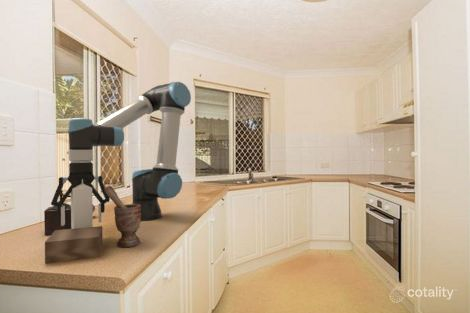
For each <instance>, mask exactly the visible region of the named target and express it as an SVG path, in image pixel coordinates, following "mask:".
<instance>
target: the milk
mask: <svg viewBox="0 0 470 313" xmlns="http://www.w3.org/2000/svg"><path fill="white" fill-rule="evenodd" d="M70 195H71V197H70V205H71V229H76V228H87V227H94V224H93V222H94V221H93V215H94V212H93V208H92V204H93V193H92V188H91V187H89V186H87V185H85V184H83V179H82V184H80V185H78V186H76V187H74V188H73V189H72V192H71V193H70Z"/></svg>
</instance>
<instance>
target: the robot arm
mask: <svg viewBox="0 0 470 313" xmlns="http://www.w3.org/2000/svg"><path fill="white" fill-rule="evenodd" d="M191 96H192V95H191V91H190V90H189V88H188V86H187V85H186V84H185V83H183V82H181V81H172V82H169V83H166V84H160V85H156V86H154V87H152V88H151V89H149V90H147V91H146V92H144V93H142V94H141V95H139V96H137V99H136V100H134V101H132V102H131V103H130V104H127V105H126V106H124V107H122V108H121V109H119V110H117V111H115V112H113V113H112V114H110V115H108V116H106V117H105V118H102V119H100V120H99V121H97V122H95V123H93V120H92V119H91V118H85V117H84V118H83V117H73V118H71V119H69V121H68V161H69V163H68V176H66V177H64V176H61V177H58V185H57V188H56V190H55V193H54V195H53V198H52V200H51V203H50V205H51V206H57V215H58V216H61V226H64V225H65V206H62V204H63V203H66V202H65V201H67V199H68V198H69V197H68V196H69V195H71V192H72V189H73V188H74V187H76V186H78V185H80V184H82V179H83V184H85V185H87V186H89V187H91V188H92V195H94V197H95V198H96V200H98V202H99V203H98V204H97V205H98V206H97V207H98V223H102V214H104V213H105V211H106V210H105V209H106V208H105V206H106V205H105V204H106V203H110V201H111V199H110V198H109V197H108V196H107V194H106V193H105V191H104V189H105V188H106V187H105V184H104V182H103V179H104V178H103V176H102V175H99V176H96V175H94V167H93V166H94V164H93V162H92V161H93V160H94V156H93V154H94V150H93V149H94V147H120V146H122V145H123V143H124V140H125V132H124V130H123V129H124V128H125V127H128V126H129V125H131V124H132V123H134V122H135V121H137V120H138V119H140V118H142V117H143V116H145V115H151V114H153V113H154V112H158V111H160V112H161V121H160V129H159V140H158V149H157V156H156V164H155V165H154V166H153V167H152V168H150V169H149V168H148V169H146V168H145V169H140V170H139V169H138V170H134V171H133V172H132V176H131V183H132V203H131V204H139V205H141V221H151V220H156V219H160V218H162V210H161V206H160V204H159V201H158V200H159V198H160V199H163V200H164V199H165V200H166V199H172V198H173V199H174V198H175V197H177V195H179V194H180V192H181V190H182V187H183V179H182V177H181V175H180V174H179V169H178V168H177V166H176V163H177V154H178V144H179V134H180V125H181V116H183V114H185V108H186V107H187V106H189V105H190V103H191V100H192V97H191ZM94 180H95V181H96V182H97V183H98V185H99V188H100V190H101V192H102V195H103V197H104V198H103V197H102V196H101V194H100V193H99V192H98V190H97V189H96V187H94V185H93V184H92V183H93V181H94ZM67 182H68V183H69V184H70V186H69V187H68V189H67V190H66V192H65V193H63V194H64V196H62V199H61V200H60V193H61V190H62V191H63V187H64V184H66V183H67ZM58 200H59V201H58Z"/></svg>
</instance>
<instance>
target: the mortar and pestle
mask: <svg viewBox="0 0 470 313" xmlns="http://www.w3.org/2000/svg"><path fill="white" fill-rule="evenodd" d="M104 191H105V193H106V194H107V196H108V197H109V198H110V201H112V202H113V203H114V205H115V206H114V209H113V210H114V213H113V214H114V223H115V226H116V228H117V229H116V230H117V231H118V232H120V233H121V236H120V238H119V239H118V240H117V244H116V246H117V247H120V248H129V247H130V248H131V247H135V246H139V245H140V244H141V240H140V237H139V236H137V234H136V233H137V231H138V230H139V228H140V226H141V221H142V220H141V205H139V204H132V203H131V204H130V203H129V204H124V203H123V202H122V200H121V199H120V197H119V195H118V194H117V192H116V189H114V188H113V186H111V185H109V186H107V187H105V189H104Z"/></svg>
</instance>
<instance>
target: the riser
mask: <svg viewBox="0 0 470 313" xmlns="http://www.w3.org/2000/svg"><path fill="white" fill-rule="evenodd" d="M102 247H103V225H102V226H101V225H99V226H93V227H87V228H76V229H64V230H55V231H54V232H53V233H52V235H49V237H48V238H47V239H46V240H45V241H44V264H51V263H59V262H67V261H76V260H84V259H93V258H100V256H101V252H102Z"/></svg>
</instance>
